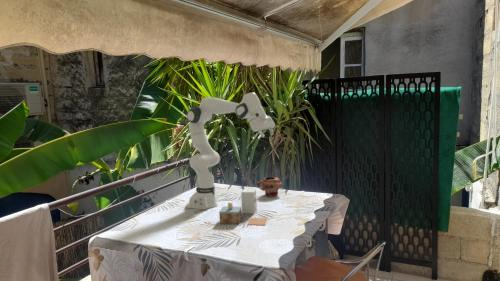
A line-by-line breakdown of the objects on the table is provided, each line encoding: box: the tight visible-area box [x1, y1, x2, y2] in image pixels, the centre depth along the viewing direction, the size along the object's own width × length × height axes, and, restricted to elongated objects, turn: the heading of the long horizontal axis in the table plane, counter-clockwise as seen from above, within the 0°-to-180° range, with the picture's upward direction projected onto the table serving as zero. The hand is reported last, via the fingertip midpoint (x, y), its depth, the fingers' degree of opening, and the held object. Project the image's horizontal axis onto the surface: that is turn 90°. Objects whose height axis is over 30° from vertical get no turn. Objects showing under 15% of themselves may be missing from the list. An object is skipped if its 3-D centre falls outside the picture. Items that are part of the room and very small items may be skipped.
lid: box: [218, 202, 242, 214], centre depth 222 cm, size 12×10×6 cm
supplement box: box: [240, 188, 258, 215], centre depth 239 cm, size 9×9×15 cm
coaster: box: [247, 217, 268, 226], centre depth 220 cm, size 11×11×1 cm
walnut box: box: [218, 209, 243, 225], centre depth 222 cm, size 12×10×7 cm
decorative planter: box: [256, 176, 283, 197], centre depth 276 cm, size 20×12×14 cm, turn 94°
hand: (268, 135), depth 216 cm, fingers open, 8 cm apart
